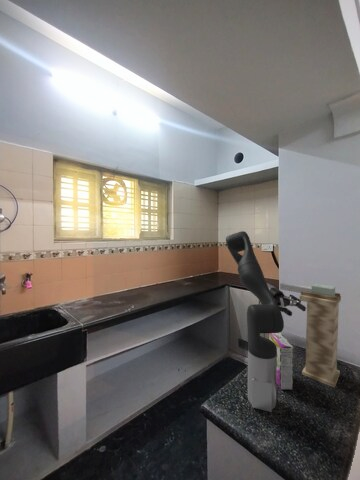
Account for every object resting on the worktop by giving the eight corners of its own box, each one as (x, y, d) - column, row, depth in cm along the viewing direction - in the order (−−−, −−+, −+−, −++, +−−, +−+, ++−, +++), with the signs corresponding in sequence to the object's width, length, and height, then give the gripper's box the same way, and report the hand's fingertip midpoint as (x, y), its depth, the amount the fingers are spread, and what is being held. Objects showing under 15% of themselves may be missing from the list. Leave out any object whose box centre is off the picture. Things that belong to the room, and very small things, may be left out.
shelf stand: (339, 373, 90) (342, 292, 88) (334, 387, 82) (337, 299, 80) (305, 360, 98) (307, 287, 97) (297, 372, 90) (299, 292, 89)
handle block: (335, 296, 87) (335, 286, 87) (332, 299, 84) (332, 289, 83) (283, 287, 101) (283, 278, 100) (279, 289, 97) (279, 280, 97)
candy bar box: (268, 370, 92) (268, 332, 91) (280, 370, 92) (280, 332, 91) (279, 390, 81) (280, 346, 80) (293, 390, 81) (294, 346, 80)
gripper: (261, 290, 110) (288, 309, 96) (282, 284, 115) (311, 301, 101) (259, 303, 112) (285, 323, 98) (280, 296, 117) (308, 314, 103)
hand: (298, 312), depth 99 cm, fingers open, 8 cm apart
